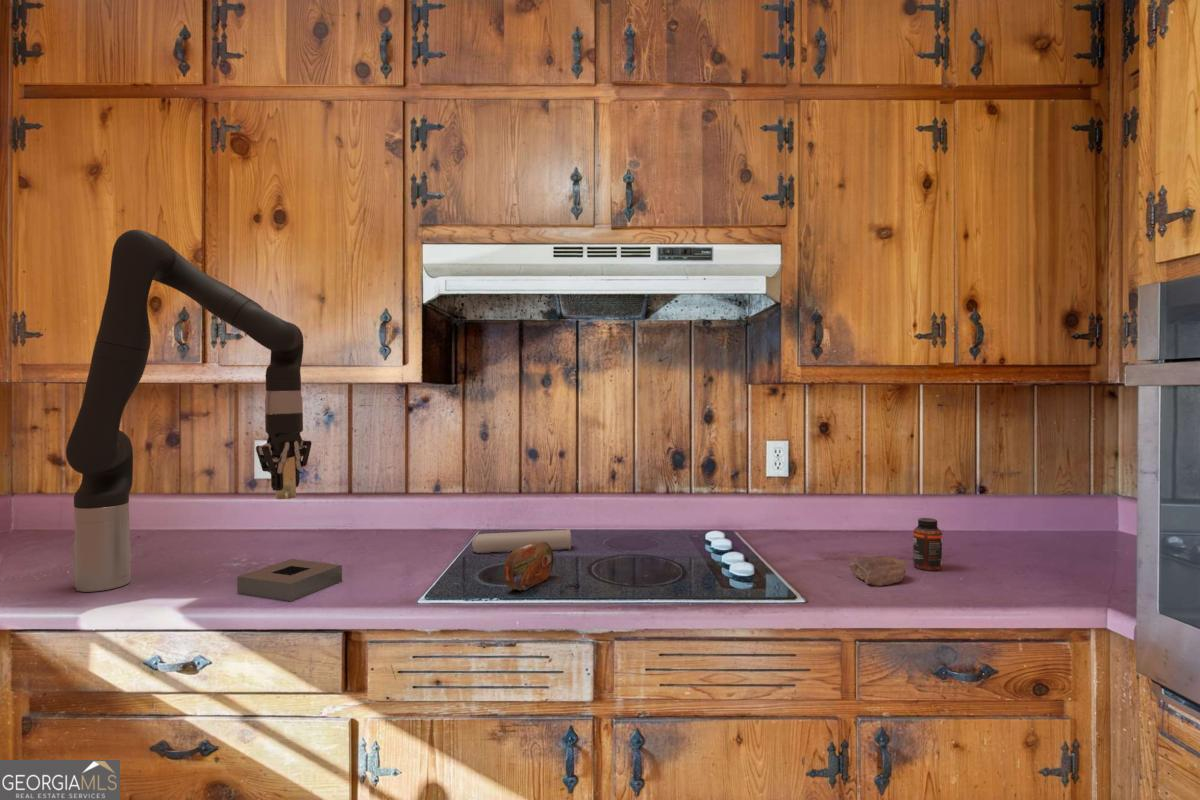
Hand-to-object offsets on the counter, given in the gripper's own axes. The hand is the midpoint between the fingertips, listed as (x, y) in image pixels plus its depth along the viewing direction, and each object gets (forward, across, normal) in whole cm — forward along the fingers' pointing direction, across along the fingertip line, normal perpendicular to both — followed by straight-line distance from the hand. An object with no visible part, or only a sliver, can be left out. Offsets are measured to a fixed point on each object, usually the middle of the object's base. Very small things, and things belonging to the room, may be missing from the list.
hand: (285, 488), depth 144 cm
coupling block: (+19, +6, +7) cm, 22 cm away
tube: (+20, -36, +40) cm, 58 cm away
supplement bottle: (+21, -53, +136) cm, 147 cm away
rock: (+21, -39, +124) cm, 132 cm away
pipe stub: (+2, 0, 0) cm, 2 cm away
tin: (+20, -12, +54) cm, 59 cm away
